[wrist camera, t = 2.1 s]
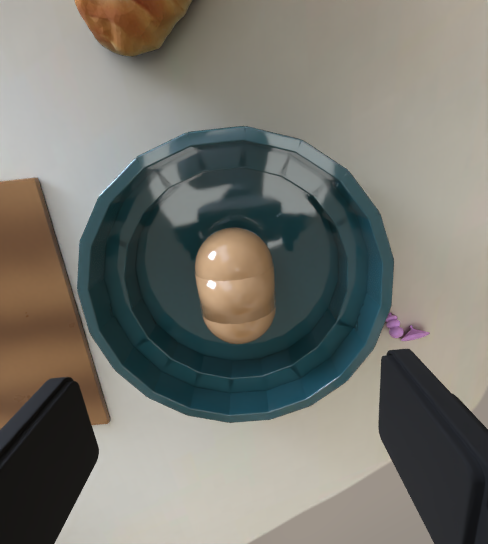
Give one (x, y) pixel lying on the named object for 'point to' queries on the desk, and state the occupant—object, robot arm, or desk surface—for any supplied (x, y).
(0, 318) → the wooden board
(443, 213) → the desk surface
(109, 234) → the bowl
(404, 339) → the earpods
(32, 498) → the robot arm
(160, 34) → the pastry
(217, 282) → the beige ridged oval
